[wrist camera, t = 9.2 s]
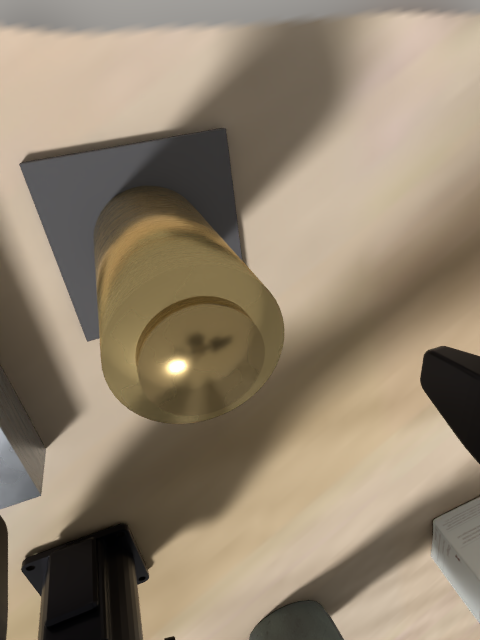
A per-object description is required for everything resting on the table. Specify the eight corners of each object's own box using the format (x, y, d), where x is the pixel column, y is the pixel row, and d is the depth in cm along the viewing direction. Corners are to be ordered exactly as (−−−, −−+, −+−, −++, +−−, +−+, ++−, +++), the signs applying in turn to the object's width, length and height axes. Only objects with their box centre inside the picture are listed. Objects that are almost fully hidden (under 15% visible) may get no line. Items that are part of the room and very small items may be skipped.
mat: (244, 295, 21) (246, 298, 21) (87, 337, 20) (87, 341, 19) (222, 128, 17) (225, 128, 17) (20, 162, 15) (19, 164, 15)
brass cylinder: (212, 277, 20) (297, 406, 12) (111, 302, 19) (131, 461, 11) (194, 175, 17) (288, 252, 9) (77, 198, 16) (72, 305, 8)
